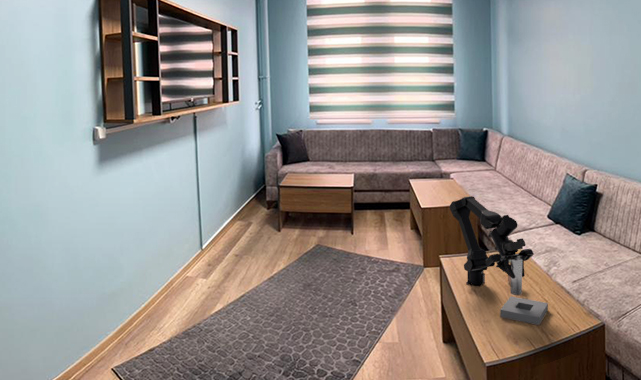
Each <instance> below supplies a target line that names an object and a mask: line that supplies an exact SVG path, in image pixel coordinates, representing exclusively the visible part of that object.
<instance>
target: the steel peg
mask: <svg viewBox="0 0 641 380" xmlns="http://www.w3.org/2000/svg"><path fill="white" fill-rule="evenodd" d="M522 261H523V259H521V258H517V257H515V258H512V259H511V269H512V271H513V274H514V276H515V278H514V279H513V278H511V285H510V294H511V295H512V296H521V295H522V294H523V292H522V291H523V277H522Z"/></svg>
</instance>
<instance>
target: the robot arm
mask: <svg viewBox="0 0 641 380" xmlns="http://www.w3.org/2000/svg"><path fill="white" fill-rule="evenodd" d="M449 210H450V211H451V214H452V217H453V218H455V219H456V220H457V221H458V223H459V227H460V229H461V232H462V235H463V239H464V242H465V244H466V247H467V250H468V251H467V254H466V262H465V263H464V264H463V268H464V269H463V270H465V271H467V281H466V283H465V284H466V285H471V286H476V287H482V286H483V284H484V283H485V282H486V279H485V278H486V274H485V273H484V271H487V270H488V268H491V267H494V266H495V268H498V269H500V270H501V271H502V272H503V271H504V272H503V273H505V274H507V276H508V275H509V276H510V277H511V278H513V279H514V278H515V276H514V274H513V271H512V269H511V267H510V265H509V264H510V263H509V260H511V259H512V258H515V257H517V258H521V259H523V261H522V278H524V277H525V275H526V274H525V266H524V263H525V262H526V261H528V260H530V259H531V258H532V257H533V256H534V255H535V253H534V251H533V250H532V249H531V248H525V249H524V248H523V247H525V246H526V245H527V244H526V242H525V240H524V238H518V239H516V241H513V240H511V239H510V238H509V236H510V235H511V234H512V233H514V231H515V230H516V229H517V228H518V222H517V220H515V218H513V217H510V216H509V214H504V215H502V216H501V214H499V213H498V212H495V211H492V210H489V209H487V208H486V207H485V206H484V205H483V204H482V203H480V202H479V201H478V200H477V199H476V198H475V196H472V195H471V196H464V197H462V198H460V199H457V200H454V201H451V203H450V204H449ZM471 212H472V213H473V214H474V215H475V217H478V219H480V220H479V221H480V222H479V223H480V224H481V226H482V227H483V228H484V229H485V230H489V231H488V232H489V233H488V238H489V239H492V241H493V244H494V245H495V247H494V250H495V251H498V253H493V254H490V255H489V256H488V254H487V251H486V250H485V249H482V248H481V247H480V244H479V242H478V239H477V237H476V233H475V231H474V228H473V225H472V222H471V219H470V214H471ZM491 229H492V230H491ZM519 250H521V251H519ZM495 264H496V265H495Z"/></svg>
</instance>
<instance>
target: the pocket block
mask: <svg viewBox="0 0 641 380" xmlns="http://www.w3.org/2000/svg"><path fill="white" fill-rule="evenodd" d="M548 311H549V303H548V302H544V301H538V300H534V299H533V300H532V299H528V298H521V297H518V296H517V297H516V296H513V295H512V296H511V295H510V296H509V298H508V299H507V300H506V302H505V303H504V304H503V306H502V307H501V308H500V312H499V313H500V314H499V315H500V316H499V317H500V318H503V319H508V320H513V321H517V322H522V323H527V324H531V325H532V324H533V325H536V326H540V325H541V323H542V321H543V319H544V318H545V316H546V314H547V313H548Z"/></svg>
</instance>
